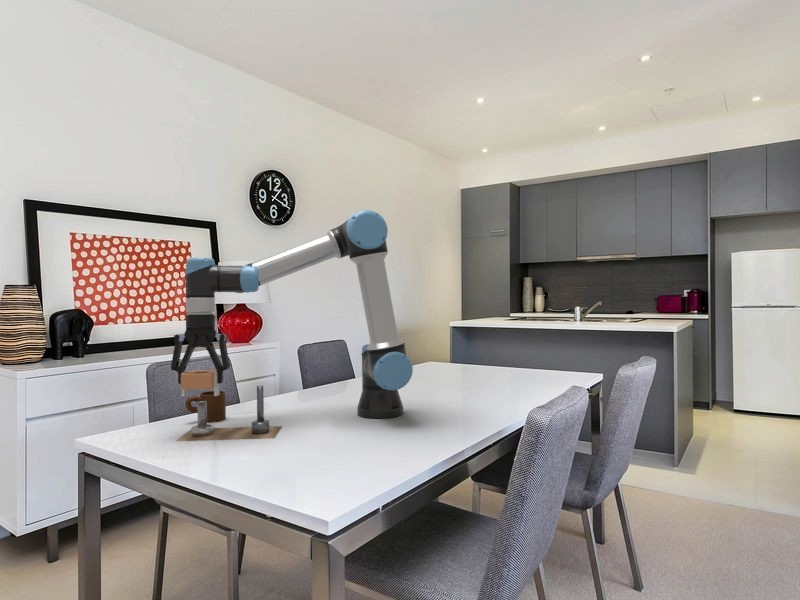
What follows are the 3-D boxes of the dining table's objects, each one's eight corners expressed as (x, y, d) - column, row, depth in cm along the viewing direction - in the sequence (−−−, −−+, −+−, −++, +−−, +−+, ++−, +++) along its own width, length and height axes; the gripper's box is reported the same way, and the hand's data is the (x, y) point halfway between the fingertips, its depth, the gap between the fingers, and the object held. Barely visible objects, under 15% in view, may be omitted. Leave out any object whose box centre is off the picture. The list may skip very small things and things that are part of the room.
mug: (190, 429, 154) (189, 398, 154) (181, 425, 159) (181, 394, 159) (229, 423, 161) (229, 392, 161) (220, 418, 167) (219, 389, 167)
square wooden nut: (219, 384, 149) (219, 370, 149) (211, 389, 141) (211, 374, 141) (191, 384, 148) (190, 370, 148) (180, 389, 140) (180, 374, 140)
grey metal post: (215, 431, 148) (215, 399, 148) (209, 436, 142) (209, 403, 142) (195, 431, 147) (195, 400, 147) (188, 437, 142) (188, 404, 142)
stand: (271, 429, 148) (270, 384, 148) (267, 434, 143) (267, 387, 143) (253, 430, 148) (253, 384, 148) (250, 434, 143) (249, 387, 143)
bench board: (282, 429, 152) (282, 426, 152) (274, 441, 139) (274, 438, 139) (192, 432, 151) (192, 428, 151) (175, 444, 138) (175, 441, 138)
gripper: (241, 313, 149) (242, 392, 149) (167, 313, 148) (167, 393, 148) (235, 313, 141) (235, 397, 141) (156, 314, 140) (156, 398, 140)
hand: (200, 395), depth 145 cm, fingers closed on square wooden nut, 8 cm apart
